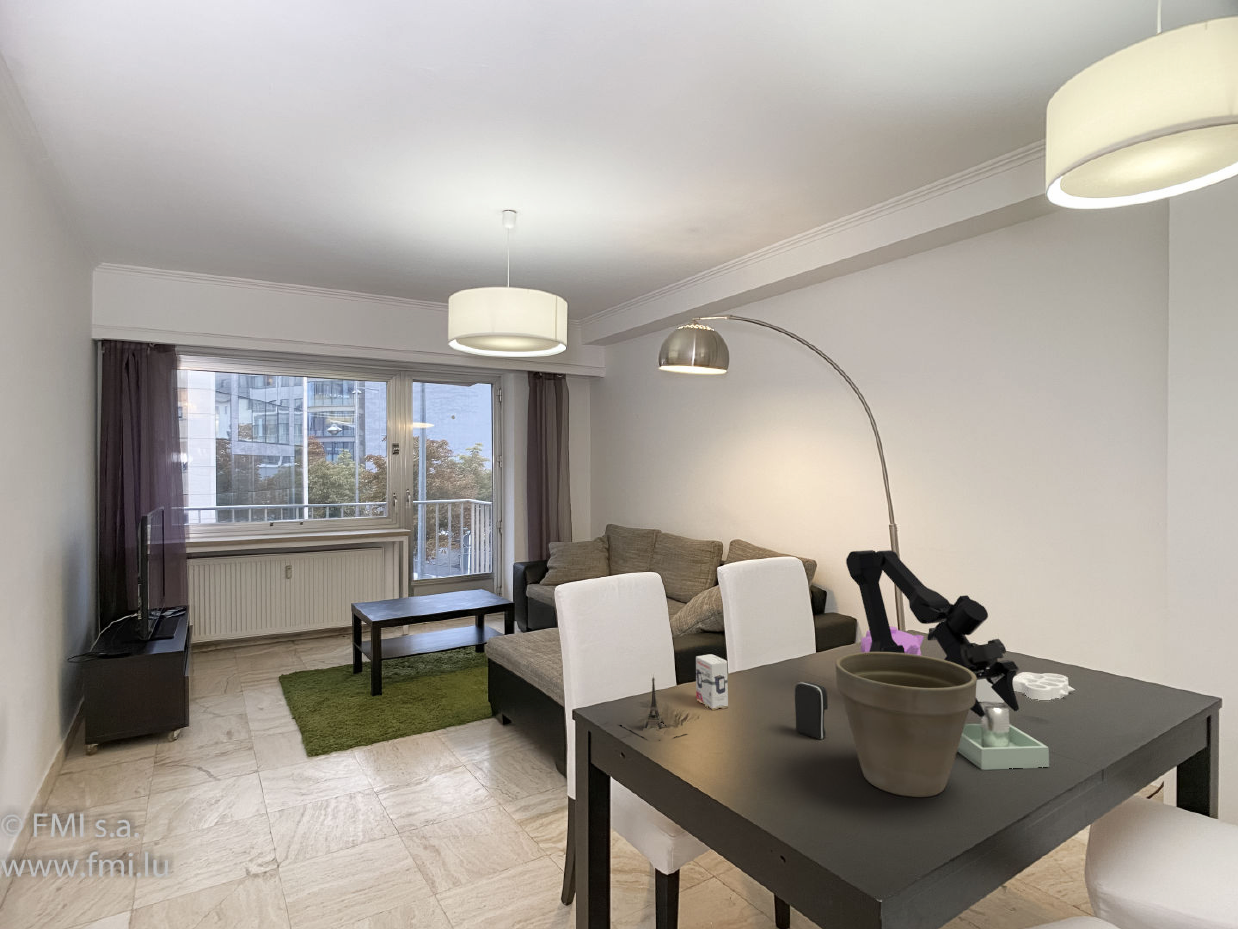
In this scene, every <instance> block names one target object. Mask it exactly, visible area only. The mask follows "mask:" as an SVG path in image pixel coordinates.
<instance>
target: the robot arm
mask: <svg viewBox="0 0 1238 929" xmlns="http://www.w3.org/2000/svg"><path fill="white" fill-rule="evenodd" d="M845 564H846V568H847V569H848V570H847V571H848V573H849V576H850V578H852V580H853V581H854V582H855V583H856V584H857V585H858V587H859V590H860V591H859V592H860V596H861V600H862V604H863V609H864V612H865V617H866V620H867V621H866V622H867V625H868V631H869V630H870V634H871V639H872V645H871V648H870V651H869V652H895V653H905V651H904V647H903V646H902V645H897V644H896V642H895V641H894V640H893V638H892V634H891V630H890V627H891V626H890V623H889V619H888V615H887V611H886V606H885V602H884V598H883V594H882V590H881V586H880V580H881V578H882V574H883V573H884V574H885V575H886V576H887V577H888V579H890V580H891V582H892V583H893V584H894V585H895V586H896V588H898V590H900V592H901V593H902V594H903V595H904V596H905V597H906V598H907V600H908V606H909V609H910V611H911V612H912V614H913V616H914V617H915V619H916V620H917V621H918V622H919V623H920V624H923V625H929V624H937V625H936V626H934V627H930V628H928V634H927V638H926V639H927V641H928V642H929V641H937V643H938V644H939V646H940V648H941V650H942V651H943V652H944V654H945V656H946V657H945V658H943V660H946V661H949V662H952V663H955V664H958V665H961V666H963V667H965V668H967V669H969V670H970V671H972V672H973V673H974V674H975V675H976V677H977V680H980V679H986V680H987V681H988V682H989V683H991V684H992V686H991V688H992V689H993V690H994V691H995V692H996V693H997V694H998V695H999V696H1000V697H1001V698H1002V699H1003V700H1004V703H1006V704H1005V705H1006V706H1007V705H1008V707H1009V709H1011V710H1013V711H1014V712H1017V711H1019V709H1020V706H1019V704H1018V701H1017V697H1016V692H1014V688H1013V677H1015V676H1016V675H1017V672H1019V670H1020V669H1019V667H1018V666H1017V664H1016V663H1015V661H1013V660H1010V659H1004V655H1005V654H1006V653H1007V649H1006V646H1005V645H1004V643H1003V642H1002V641H1001V640H1000V639H999V638H995V639H991V640H988V641H987V643H984V644H977V643H976V642H972V643H971V642H970V640H969V639H968V637H967V636H970V635H972V634H974V633H975V631H976V630H977V629H978V628H980V626H981V625H983V623H984V622H986V620H987V619H988V617H989V613H988V611H987V609H986V607H985V606H984V605H982V604H980V602H978V601H976V600H974V599H972V598H971V597H970V596H969V595H960V596H959V597H958V598H957V599H956V601H955V602H954V603H951V602H949V600H948V599H947V598H946V597H944V596H943V595H942V594H941V593H939V592H937V591H936V590H934V589H932V588H929V587H927V586H926V585H924V584H923V582H922V581H921V580H919V578H918V577H917V576H916V575H915V574H914V573H913V572H912V570H910V569H909V567H908V566H906V564H905V563H904V562H903V561H902V560H901V559H900V558H899V556H898V554H897V552H896V551H893V550H890V549H889V550H888V549H887V550H877V551H876V550H873V549H871V550H870V549H869V550H868V549H867V550H853V551H850V552H849V554H848V555H847V557H846V559H845ZM1003 654H1004V655H1003ZM996 658H998V659H1004V660H998V661H997V662H996V663H994V664H993V665H992V666H991V667H990V668H989V669H987V668H986V666H988V665H990V664H991V663H992V662H991V661H990V660H993V659H996ZM980 674H981V675H980ZM980 704H981V702H978V700H977V698H976V699H975V704H974V706H973V707H972V708H970V709H969V711H971V712H972V713H974V714H975V715H977V716H978V717H980V718H981V717H983V716H985V713H984V711H983V709H982V707H981V705H980Z"/></svg>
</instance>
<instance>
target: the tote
mask: <svg viewBox="0 0 1238 929" xmlns="http://www.w3.org/2000/svg"><path fill="white" fill-rule="evenodd" d="M1009 738H1010V747H989V748H983V747H982V746H981V723H965V725H964V729H963V732H962V736H961V739H960V742H959V746H958V749H957V753H959V754H960V755H962V756H963V757H964V758H966V759H967V760H968V761H969V762H971V763H973V765H975V766H976V767H978V769H980V770H981V771H982V770H985V771H986V770H987V771H988V770H1010V769H1009V768H1012V769H1011V770H1014V769H1013V768H1023V769H1039V768H1038V767H1042V768H1041V769H1044V768H1043V767H1049V768H1050V755H1049V754H1050V750H1049V747H1048V746H1047V745H1045V744H1044V743H1042V742H1041V741H1039V740H1037V739H1035V738H1034V737H1032V736H1031V735H1029V734H1028V733H1026V732H1023V731H1022V730H1020V729H1019V728H1017V727H1015V726H1013V725H1012V724H1011V723H1009Z"/></svg>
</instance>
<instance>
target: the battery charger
mask: <svg viewBox="0 0 1238 929" xmlns="http://www.w3.org/2000/svg"><path fill="white" fill-rule="evenodd" d="M794 688H795V689H794V708H795V731H796V733H797V732H798V733H799V732H800V734H802V735H804V734H805V736H807V737H810V736H811V737H810V738H813V737H814V739H818V740H823V738H825V737H826V736H827V735H826V731H825V711H826V710H828V706H829V704H828V692H827V689H826V687H824V686H823V685H820V684H817V683H814V682H810V681H803V682H799V683H797V684H795V687H794Z"/></svg>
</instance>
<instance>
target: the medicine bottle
mask: <svg viewBox="0 0 1238 929" xmlns="http://www.w3.org/2000/svg"><path fill="white" fill-rule="evenodd" d="M990 661H991V662H992V663H991V664H990V665H988V666H986V668H987V669H989V668H990V667H991V666H992V665H993V664H994V663H996V662H997V661H999V658H996V659H993V660H990ZM980 675H981V674H980ZM991 686H992V684H991V683H989V682H988V681H987V680H986V679H980V680H977V684H976V698H977V700H978V702H979V703H985V702H993V703H999V704H1004V703H1005V701H1004V700H1003V699H1002V698H1001V697H1000V696H999V695H998V694H997V693H996V692H995V691H994V690H993V689H992V688H991Z"/></svg>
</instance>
